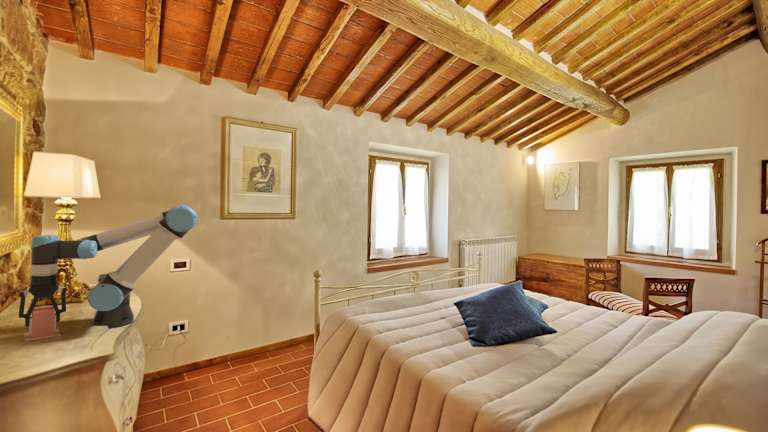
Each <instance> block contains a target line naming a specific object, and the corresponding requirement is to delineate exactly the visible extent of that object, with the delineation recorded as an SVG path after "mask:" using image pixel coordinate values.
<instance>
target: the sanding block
mask: <svg viewBox="0 0 768 432" xmlns="http://www.w3.org/2000/svg"><path fill="white" fill-rule="evenodd" d="M54 314H55V310H54V307H53V305H50V306H49V305H48V306H42V307H34V309H33V311H32V314H31V317H32V335H31V336H32V340H37V339H43V338H49V337H54Z"/></svg>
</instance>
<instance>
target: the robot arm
mask: <svg viewBox="0 0 768 432" xmlns="http://www.w3.org/2000/svg"><path fill="white" fill-rule="evenodd" d="M197 222H198V214H197V212H196V211H195V209H194V208H192V207H191V206H189V205H185V204H179V205H178V204H177V205H176V206H175V205H174V206H173V207H171V208H170V209H169V210H166V211H163V212H161V213H160V214H159V215H157V216H153V217H150V218H146V219H143V220H140V221H137V222H133V223H130V224H126V225H122V226H120V227H115V228H113V229H109V230H106V231H103V232H98V233H97V234H92V235H89V236H84V237H81V238H79V239H76V240H71V239H70V240H63V239H62V240H61V239H60V238H59V235H54V234H53V235H52V234H40V235H34V236H33V237H32V240H31V247H30V248H31V254H30V255H31V256H30V257H31V263H30V265H31V266H30V275H31V276H30V285H29V286H30V287H29V288H28V289H27V290H21V291H19V292H18V295H19V297H20V302H19V310H18V318H19V319H21V318H22V319H24V325H25V327H26V328H27V327H28V329H29V330H28V332H29V335H32V311H33V309H34V308H36V305H37V302H38V301H39V299H40V300H41V299H43V298H45V299H47V298H49V300H50V302H51V303H50V304H51V306H53V308H54V331H56V327H57V323H60V322H61V314H62V313H65V312H66V311H67V302H66V299H67V298H66V293H67V290H68V289H67V287H66V286H63V287H62V286H59V285H58V274H57V273H58V268H59V265H58V262H59V260H72V259H73V260H75V259H76V260H88V259H94V258H96V256H97V253H98V252H100V251H103V250H108V249H110V248H113V247H116V246H119V245H123V244H125V243H129V242H132V241H133V242H134V241H135V240H139V239H142V238H145V237H147V238H146V240H145V241H144V242H143V243H142V244H141V245H140V246H138V248H137V249H136V250H135V251H134V252H133V253H131V255H130V256H129V257H128V258H127V259H126V260H125V261H124V262H123V264H121V265H120V266H119V268H117V269H116V270H114V271H109V272H108V273H101V274H99V275H98V279H97V281H98V283H96V284H95V286H93V287H92V288H90V290H89V293H88V294H87V302H88V305H89V306H90V307H91V308H92V309H94V310H96V311H95V313H94V316H93V318H92V320H91V324H92V325H94V326H98V327H99V326H101V327H103V326H104V327H107V328H108V329H113V328H119V327H123V326H126V325H129V324H131V323H134V321H135V315H134V312H133V309H132V307H131V305H130V304H131V292H132V291H133V290H135V288H136V284H135V283H136V282H137V281H138V280H139V279H140V277H142V276H143V274H144V273H145V272H146V271H147V270H148V269H149V268H150V267H151V266H152V265H154V263H155V262H156V260H158V258H160V257H161V255H163V254H164V252H166V250H167V249H168V248H169V247H170V246H171V245H172V244H173V243H174V242H175V241H176V240H181V239H183V237H184V236H185V235H186V234H187V233H189V231H191V230H192V229H193V228H194V227H195V226H196V224H197ZM57 291H58V292H59V293H60V303H61V304H60V307H61V308H59V306H58V304H57V302H56V299H55V296H54V294H55V293H56V292H57ZM29 293H30V294H31V296H32V297H33V298H32V300H31V302H30V304H29V307H28V309H27V311H26V313H25V305H26V297H28V294H29Z"/></svg>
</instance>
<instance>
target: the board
mask: <svg viewBox="0 0 768 432" xmlns="http://www.w3.org/2000/svg"><path fill="white" fill-rule="evenodd" d="M23 338H24V344H25V345H29V344H30V345H31V344H36V343H42V342H47V341H51V340H57V339H62V338H63V337H62V334H61V332H60V329H59V327H58V326H56V331H54V337H49V338H43V339H37V340H32V336H31V335H29V331H26V332H23Z"/></svg>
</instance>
